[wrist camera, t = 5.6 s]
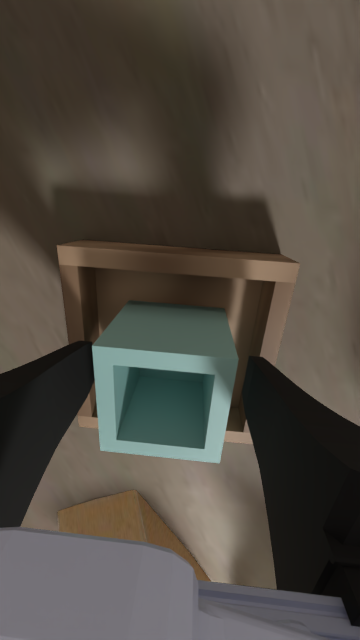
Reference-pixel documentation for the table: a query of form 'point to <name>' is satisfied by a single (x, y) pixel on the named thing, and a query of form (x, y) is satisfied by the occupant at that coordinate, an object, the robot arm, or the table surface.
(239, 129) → the table surface
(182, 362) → the box
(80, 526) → the sandwich container
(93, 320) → the walnut crate
